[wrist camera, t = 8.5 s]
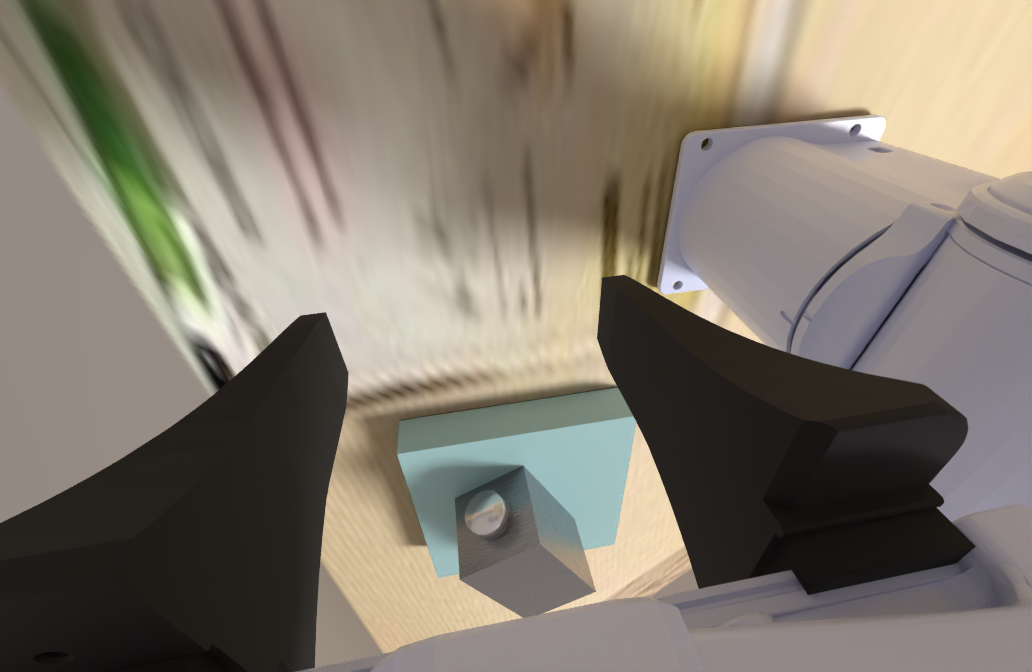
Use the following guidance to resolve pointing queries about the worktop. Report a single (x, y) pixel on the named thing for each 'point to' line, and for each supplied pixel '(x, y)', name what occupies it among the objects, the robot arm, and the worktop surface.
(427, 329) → the worktop surface
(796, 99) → the worktop surface
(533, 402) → the stand
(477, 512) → the housing
